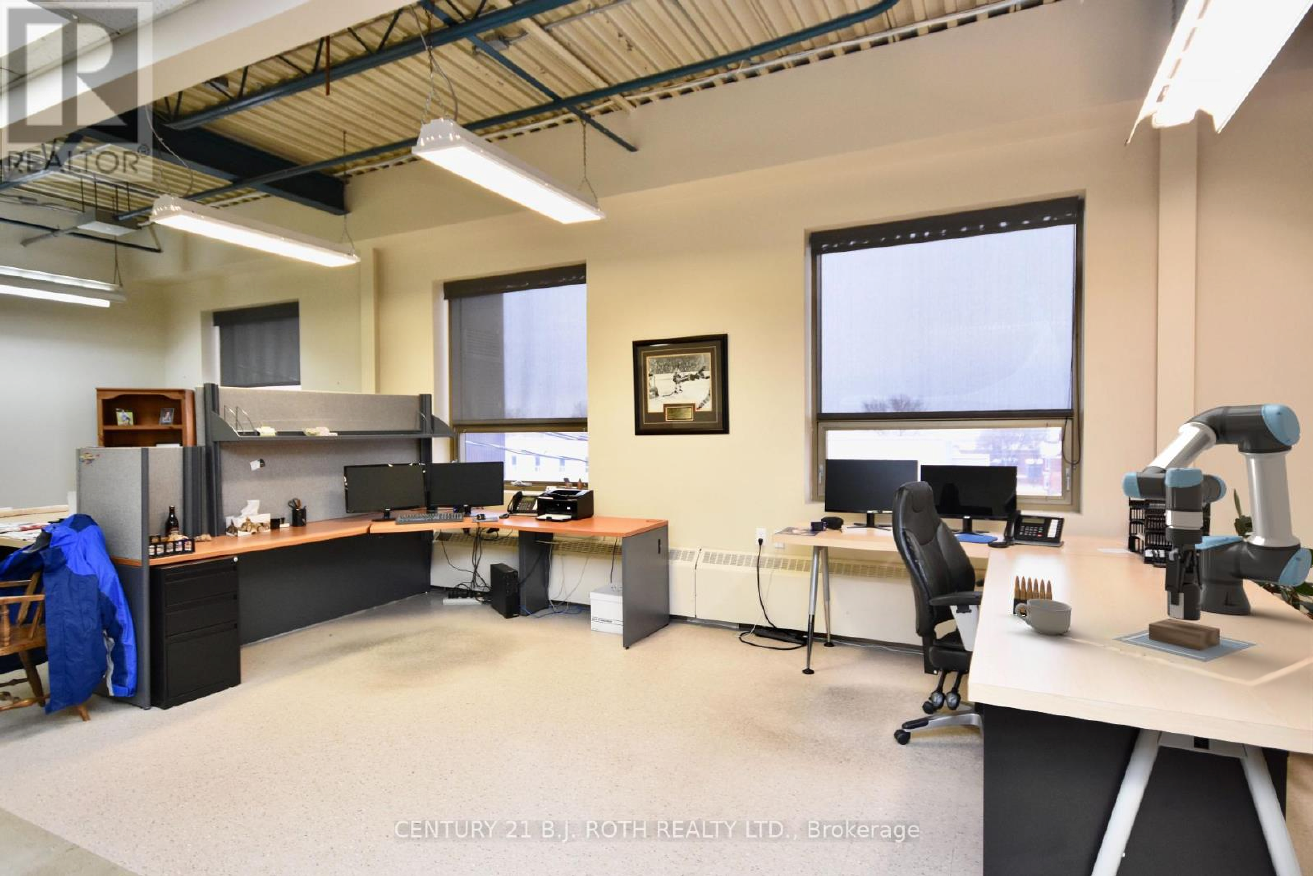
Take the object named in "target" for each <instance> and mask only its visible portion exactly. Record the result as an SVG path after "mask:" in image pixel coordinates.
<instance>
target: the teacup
mask: <svg viewBox="0 0 1313 876" xmlns="http://www.w3.org/2000/svg"><path fill="white" fill-rule="evenodd" d="M1022 607H1024V608H1026V611H1027V617H1023V616H1022V615H1021V614H1020V609H1021V608H1022ZM1072 609H1073V608H1072V606H1071V605H1069V604H1067V603H1065V602H1061V601H1057V600H1054V599H1052V600H1046V599H1030V600H1028V601H1027V605H1026V604H1023V603H1022V604H1018V605H1017V606H1016V608H1015V612H1016V614H1017V615H1016V616H1017V617H1018V618H1019V619H1020V620H1022V621H1024V622H1025V624H1026V625H1028V626H1030V627H1031V628H1032V629H1033V630H1034V631H1035V632H1037V633H1040V634H1043V635H1047V636H1049V635H1050V636H1060V635H1062V634H1063V633H1066V632H1067V631H1068V630H1069V629H1070V627H1071V619H1072V617H1071V616H1072Z"/></svg>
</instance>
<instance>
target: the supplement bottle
mask: <svg viewBox="0 0 1313 876" xmlns="http://www.w3.org/2000/svg"><path fill="white" fill-rule="evenodd" d="M1195 580H1196V578H1195V573H1194V572H1190V571H1185V574H1184V580H1183V586H1182V592H1181V593H1184V619H1179V618H1174V617H1171V619H1175V620H1180V621H1188V622H1191V621H1193V622H1194V621H1199V620H1201V619H1202V618H1201V613H1202V612H1201V611H1202V610H1201V589H1200V586H1199V585H1198V584H1197V583H1195ZM1166 610H1167V611H1166V613H1167V616H1168V617H1170V591H1166Z"/></svg>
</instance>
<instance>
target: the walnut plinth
mask: <svg viewBox="0 0 1313 876" xmlns="http://www.w3.org/2000/svg"><path fill="white" fill-rule="evenodd" d="M1148 630H1149V639H1151V640H1155V641H1159V642H1164V643H1168V644H1172V645H1176V646H1181V647H1185V648H1189V649H1193V650H1198V651H1200V650H1204V649H1207V648H1210V647H1213V646H1216V645H1219V644H1220V637H1221V632H1220V631H1221V629H1220V628H1218V627H1213V626H1209V625H1203V624H1199V623H1194V622H1190V621H1186V620H1181V619H1176V618H1166V619H1162V620H1159V621H1154V622H1151V623H1148Z"/></svg>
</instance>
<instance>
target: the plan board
mask: <svg viewBox="0 0 1313 876" xmlns="http://www.w3.org/2000/svg"><path fill="white" fill-rule="evenodd" d="M1112 640H1115V641H1119V642H1122V643H1127V644H1131V645H1133V646H1139V647H1143V648H1146V649H1151V650H1154V651H1155V650H1156V651H1160V652H1163V653H1167V654H1171V655H1175V656H1179V657H1183V658H1188V659H1192V660H1196V661H1200V662H1203V663H1206V662H1209V661H1212V660H1215V659H1219V658H1220V657H1223V656H1227V655H1230V654H1233V653H1236V652H1238V651H1242V650H1244V649H1247V648H1250V647H1253V646H1256V645H1257V643H1253V642H1248V641H1245V640H1244V641H1243V640H1239V639H1234V638H1229V637H1224V636H1220V644H1219V645H1216V646H1213V647H1210V648H1207V649H1204V650H1200V651H1198V650H1193V649H1189V648H1185V647H1181V646H1176V645H1172V644H1168V643H1164V642H1159V641H1155V640H1151V639H1149V629H1146V630H1142V631H1139V632H1138V631H1137V632H1134V633H1131V634H1127V635H1123V636H1118V637H1117V638H1112Z"/></svg>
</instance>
